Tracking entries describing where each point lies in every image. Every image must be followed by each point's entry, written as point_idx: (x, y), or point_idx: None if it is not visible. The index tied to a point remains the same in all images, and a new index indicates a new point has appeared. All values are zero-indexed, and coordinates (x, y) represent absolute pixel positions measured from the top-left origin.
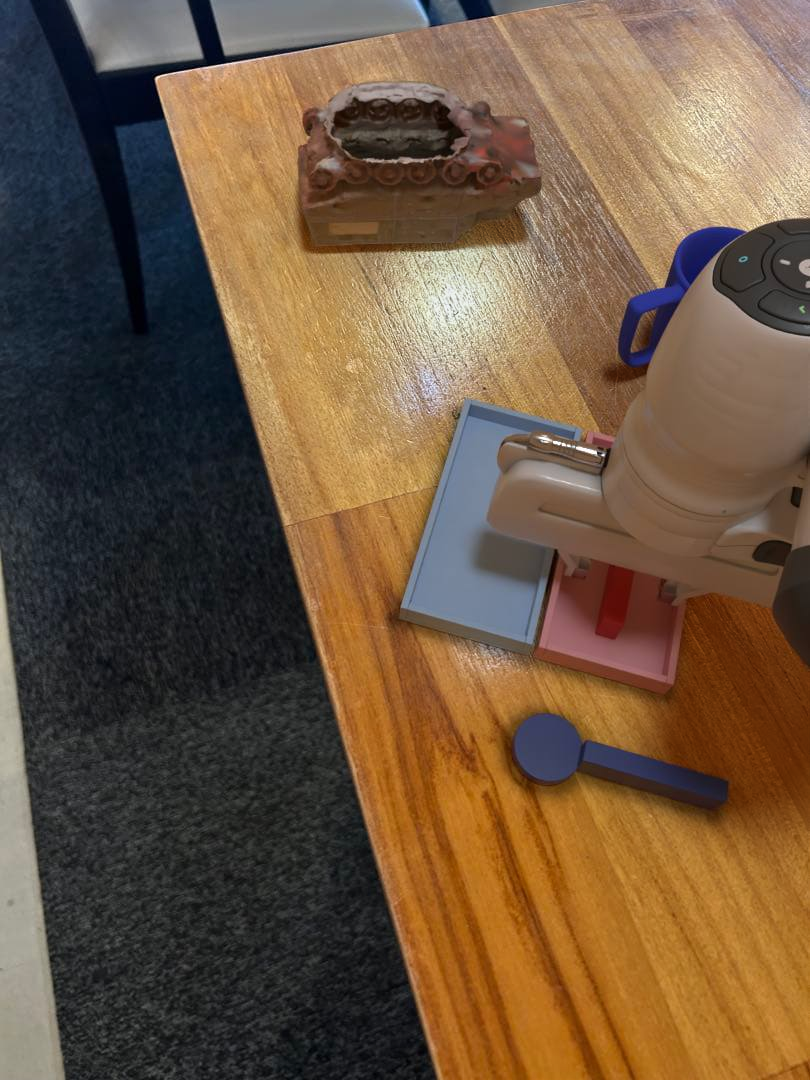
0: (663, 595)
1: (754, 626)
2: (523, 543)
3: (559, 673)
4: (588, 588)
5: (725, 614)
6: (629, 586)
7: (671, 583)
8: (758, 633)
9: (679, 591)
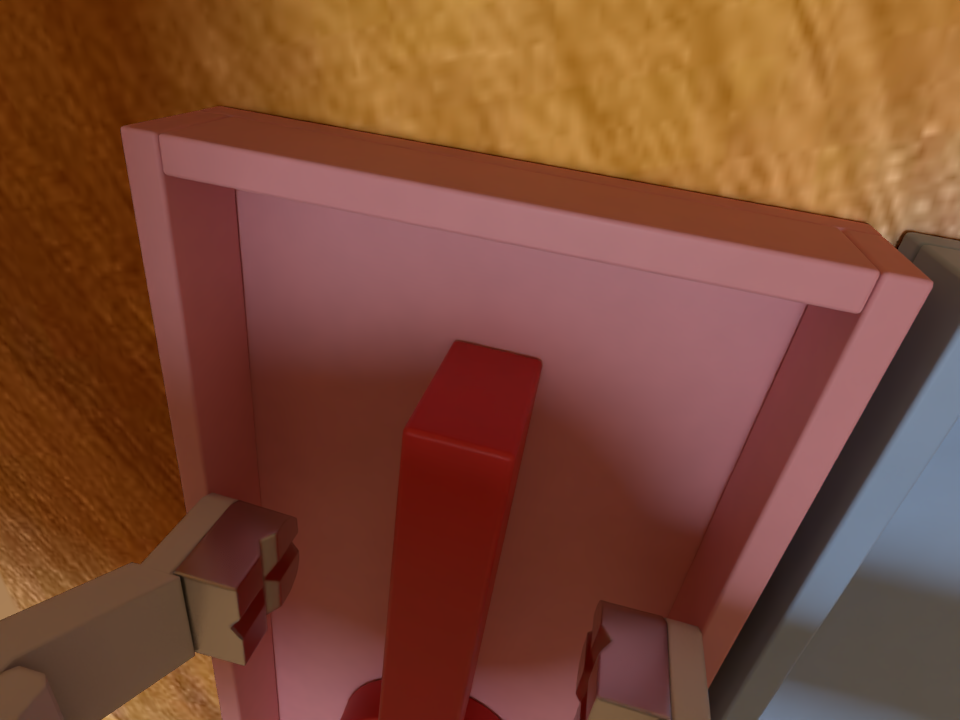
0: (243, 562)
1: (23, 402)
2: (822, 685)
3: (727, 150)
4: (568, 532)
5: (111, 436)
6: (397, 596)
7: (210, 619)
8: (5, 382)
9: (157, 600)
